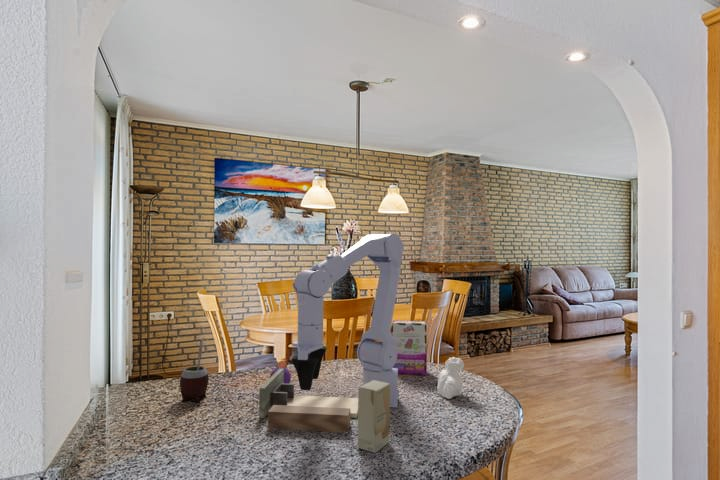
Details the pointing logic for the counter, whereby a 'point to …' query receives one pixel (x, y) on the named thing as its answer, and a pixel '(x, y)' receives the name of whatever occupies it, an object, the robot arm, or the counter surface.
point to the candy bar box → (411, 347)
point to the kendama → (286, 373)
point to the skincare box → (373, 415)
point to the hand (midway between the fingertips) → (309, 383)
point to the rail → (309, 418)
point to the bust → (450, 378)
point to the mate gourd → (194, 381)
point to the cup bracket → (297, 397)
